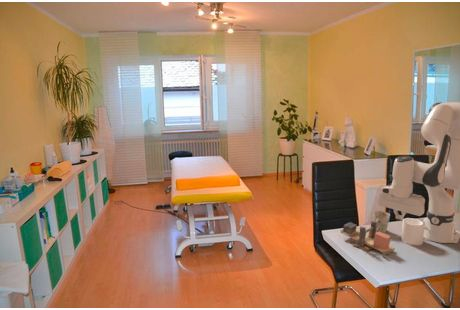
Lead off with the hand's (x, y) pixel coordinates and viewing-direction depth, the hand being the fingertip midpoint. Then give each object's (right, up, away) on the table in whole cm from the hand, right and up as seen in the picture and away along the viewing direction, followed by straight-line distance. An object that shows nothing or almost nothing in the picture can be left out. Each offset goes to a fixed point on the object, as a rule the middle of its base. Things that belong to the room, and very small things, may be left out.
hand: (399, 219), depth 165 cm
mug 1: (+4, -13, +31) cm, 33 cm away
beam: (-10, -14, +15) cm, 23 cm away
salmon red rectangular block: (-5, -15, +9) cm, 18 cm away
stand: (-7, -17, +12) cm, 21 cm away
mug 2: (+17, -15, +18) cm, 29 cm away
